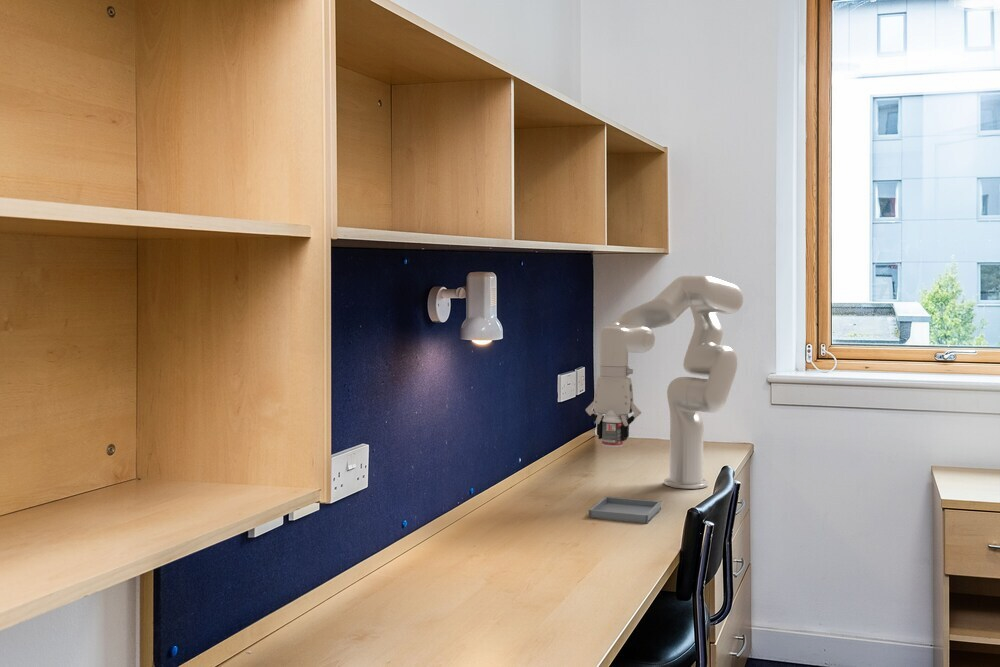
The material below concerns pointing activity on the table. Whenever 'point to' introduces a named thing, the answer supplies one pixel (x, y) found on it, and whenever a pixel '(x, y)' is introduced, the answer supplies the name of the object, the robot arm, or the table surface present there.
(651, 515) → the slate tray
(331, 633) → the table surface
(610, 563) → the table surface
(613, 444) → the pill bottle
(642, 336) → the robot arm
